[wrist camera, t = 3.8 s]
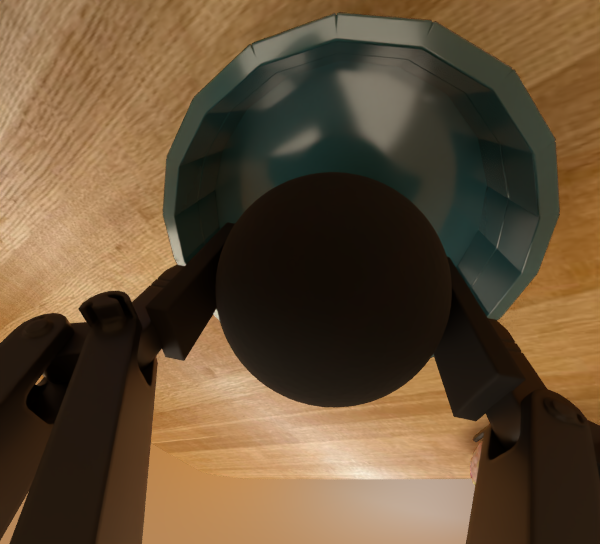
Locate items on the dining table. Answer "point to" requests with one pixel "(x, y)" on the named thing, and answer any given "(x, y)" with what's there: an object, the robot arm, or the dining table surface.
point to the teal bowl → (376, 141)
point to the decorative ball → (333, 289)
